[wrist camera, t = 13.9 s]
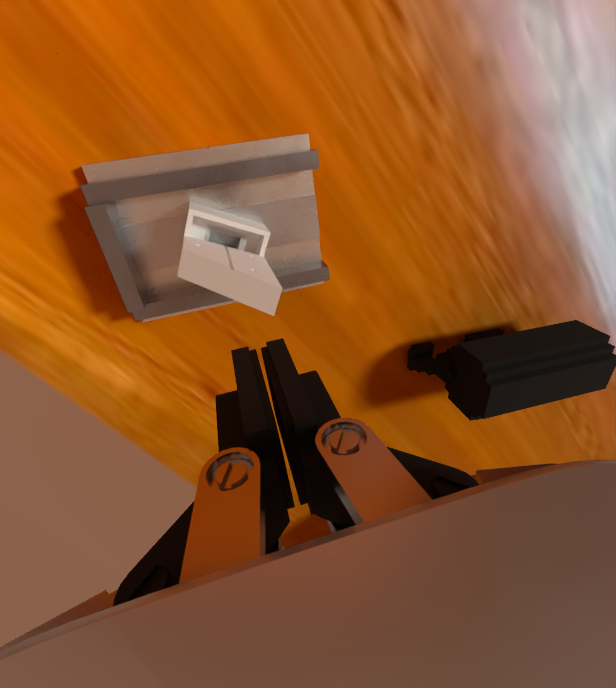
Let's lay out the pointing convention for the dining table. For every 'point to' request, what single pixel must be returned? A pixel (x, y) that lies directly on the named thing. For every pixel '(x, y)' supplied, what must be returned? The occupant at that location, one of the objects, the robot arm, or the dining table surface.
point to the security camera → (519, 367)
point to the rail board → (211, 191)
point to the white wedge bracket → (229, 258)
